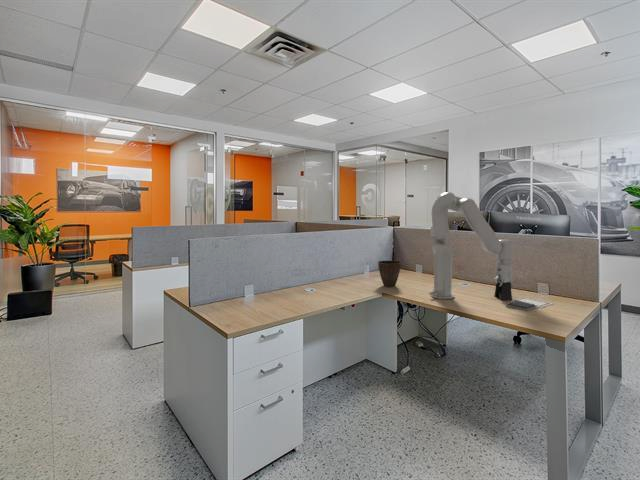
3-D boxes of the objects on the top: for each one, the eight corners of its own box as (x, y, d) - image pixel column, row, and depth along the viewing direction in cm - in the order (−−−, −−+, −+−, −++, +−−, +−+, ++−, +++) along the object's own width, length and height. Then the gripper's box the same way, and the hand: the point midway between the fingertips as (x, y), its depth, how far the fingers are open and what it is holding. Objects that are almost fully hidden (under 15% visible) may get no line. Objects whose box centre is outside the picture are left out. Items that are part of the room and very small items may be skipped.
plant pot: (374, 286, 219) (374, 262, 218) (383, 282, 231) (383, 259, 230) (395, 289, 211) (395, 264, 209) (404, 285, 223) (404, 261, 222)
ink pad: (526, 311, 163) (527, 307, 163) (506, 306, 172) (506, 303, 172) (536, 307, 169) (536, 304, 169) (516, 303, 177) (516, 300, 177)
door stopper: (512, 300, 182) (513, 279, 181) (500, 300, 183) (501, 279, 181) (505, 296, 191) (505, 276, 190) (494, 296, 191) (494, 276, 190)
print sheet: (540, 308, 168) (540, 307, 168) (510, 301, 181) (510, 300, 181) (552, 303, 175) (552, 303, 175) (522, 297, 188) (522, 297, 188)
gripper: (502, 264, 177) (501, 295, 178) (519, 261, 186) (518, 291, 188) (489, 262, 183) (488, 292, 185) (505, 259, 193) (504, 288, 194)
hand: (503, 291), depth 186 cm, fingers open, 9 cm apart
